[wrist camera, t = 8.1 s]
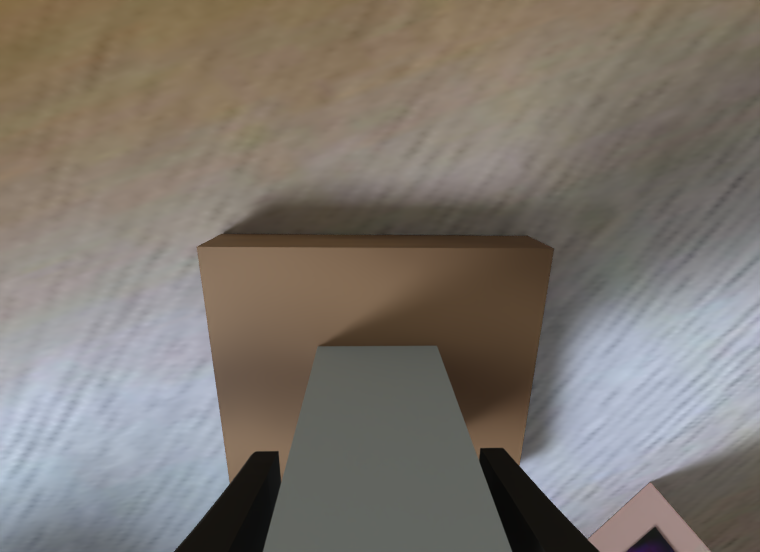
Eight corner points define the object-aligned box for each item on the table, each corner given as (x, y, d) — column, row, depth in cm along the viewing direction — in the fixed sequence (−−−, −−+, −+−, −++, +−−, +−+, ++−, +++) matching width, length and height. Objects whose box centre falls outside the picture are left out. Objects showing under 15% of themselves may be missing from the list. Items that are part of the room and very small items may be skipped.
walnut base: (495, 474, 17) (511, 514, 15) (250, 478, 16) (235, 520, 15) (527, 235, 14) (553, 248, 12) (221, 233, 13) (196, 246, 11)
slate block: (430, 442, 14) (489, 711, 7) (322, 444, 14) (277, 719, 7) (436, 345, 13) (515, 559, 6) (317, 346, 12) (258, 566, 6)
